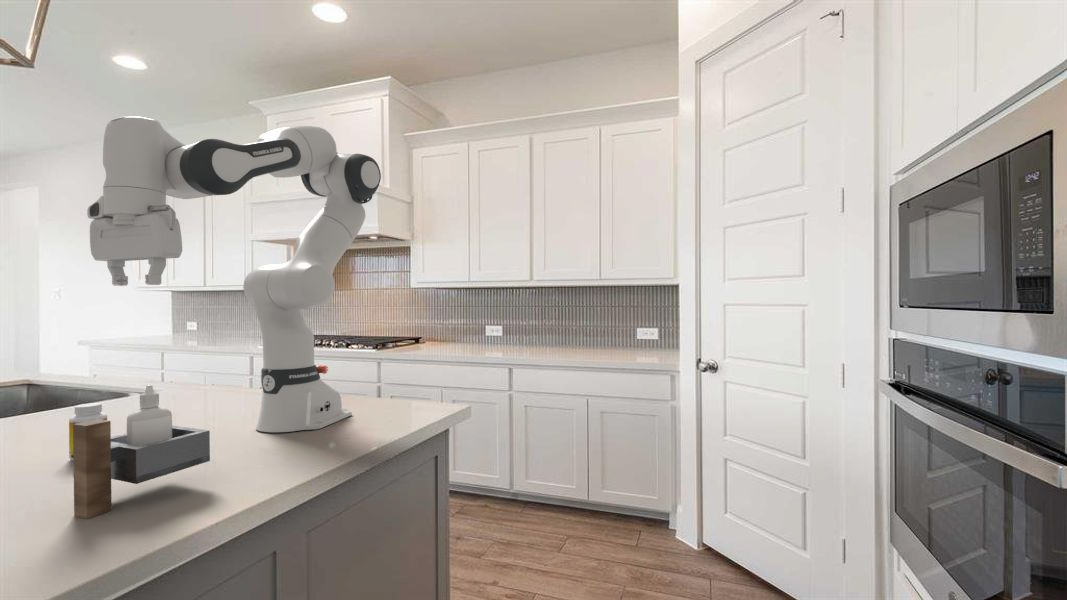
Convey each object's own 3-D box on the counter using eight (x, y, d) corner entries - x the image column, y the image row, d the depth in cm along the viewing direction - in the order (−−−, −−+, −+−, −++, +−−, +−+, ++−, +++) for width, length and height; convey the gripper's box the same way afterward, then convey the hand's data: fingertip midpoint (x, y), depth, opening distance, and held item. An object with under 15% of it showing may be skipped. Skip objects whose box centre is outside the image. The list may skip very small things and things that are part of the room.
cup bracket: (166, 476, 87) (165, 401, 87) (210, 485, 83) (209, 406, 83) (58, 511, 73) (57, 421, 73) (104, 523, 69) (102, 428, 69)
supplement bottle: (66, 464, 94) (65, 409, 94) (72, 456, 98) (72, 404, 98) (105, 458, 97) (104, 405, 97) (109, 451, 102) (109, 400, 101)
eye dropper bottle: (167, 462, 79) (166, 386, 79) (122, 467, 77) (122, 388, 77) (175, 454, 83) (174, 381, 83) (133, 459, 81) (132, 384, 81)
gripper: (192, 206, 89) (193, 284, 89) (120, 214, 97) (121, 286, 97) (154, 200, 83) (155, 283, 83) (81, 209, 91) (82, 285, 91)
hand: (136, 285), depth 90 cm, fingers open, 8 cm apart
